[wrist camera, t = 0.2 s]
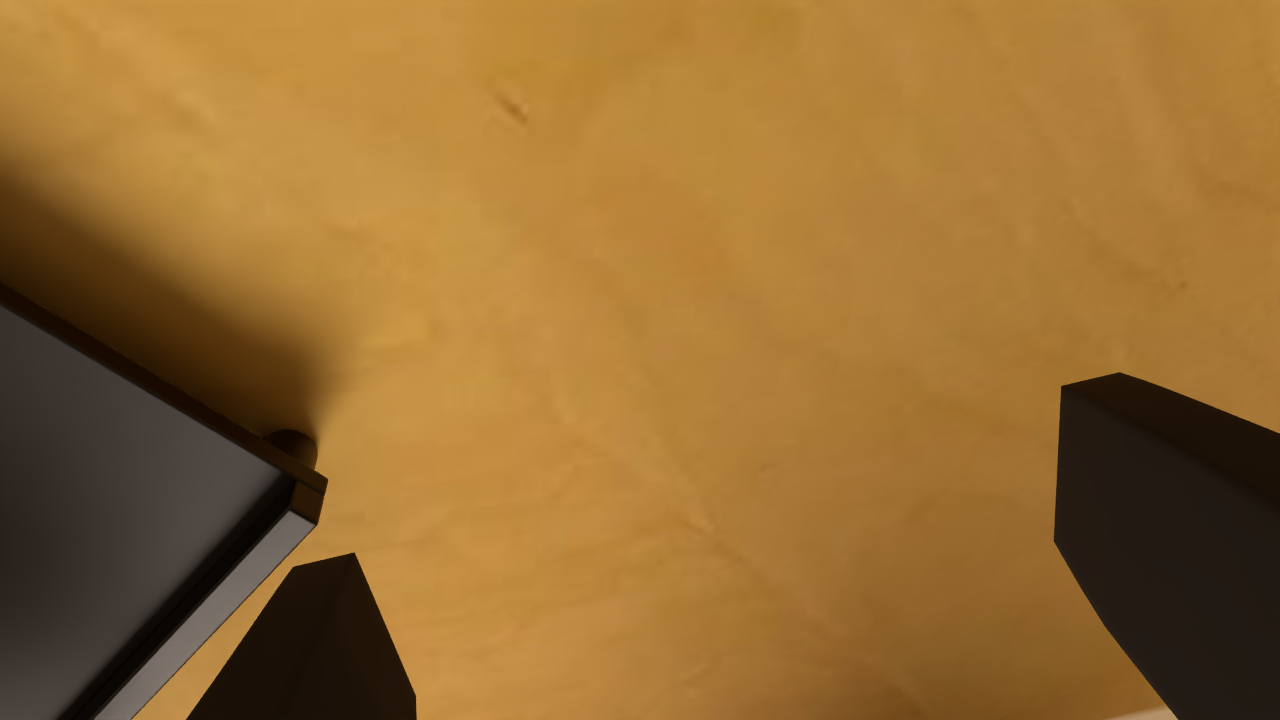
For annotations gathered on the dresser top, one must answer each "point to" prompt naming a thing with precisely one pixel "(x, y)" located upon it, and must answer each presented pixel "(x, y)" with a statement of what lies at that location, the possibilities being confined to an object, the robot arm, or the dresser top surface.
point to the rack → (124, 520)
